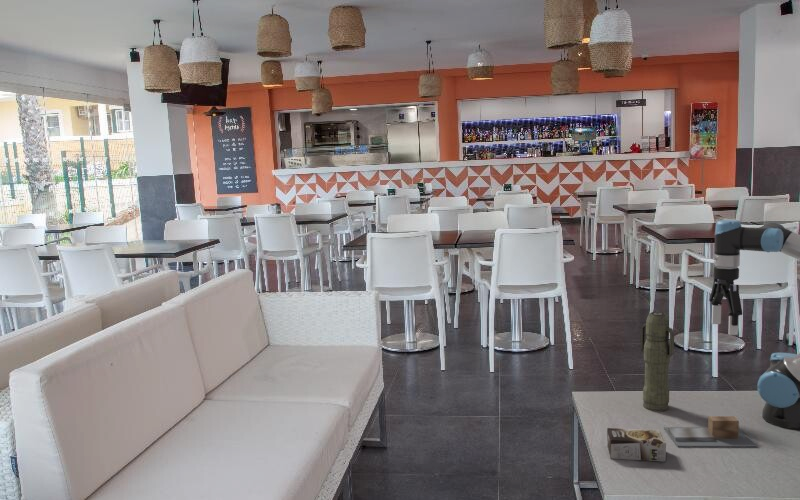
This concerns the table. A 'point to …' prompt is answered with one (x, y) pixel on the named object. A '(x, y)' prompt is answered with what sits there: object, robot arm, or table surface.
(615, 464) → the table surface
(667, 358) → the thermos
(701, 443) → the mat
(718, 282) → the robot arm
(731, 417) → the wood block metal plate
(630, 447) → the coffee box
